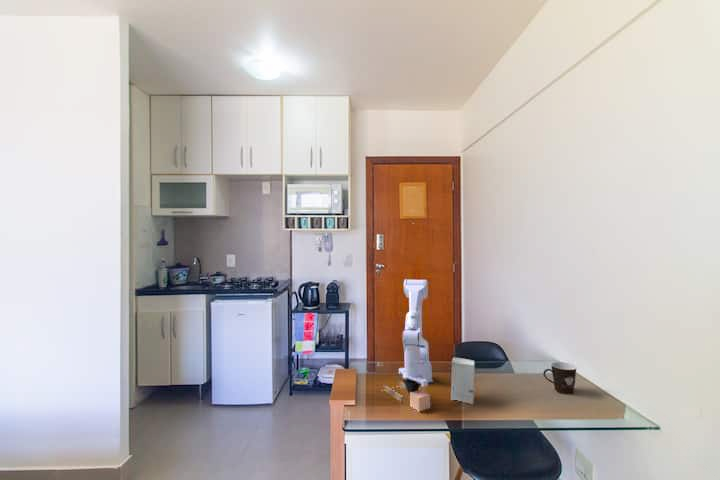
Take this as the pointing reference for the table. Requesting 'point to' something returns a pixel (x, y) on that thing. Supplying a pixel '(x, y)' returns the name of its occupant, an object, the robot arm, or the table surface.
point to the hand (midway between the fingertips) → (412, 399)
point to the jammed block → (419, 400)
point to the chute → (395, 394)
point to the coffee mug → (563, 377)
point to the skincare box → (462, 380)
